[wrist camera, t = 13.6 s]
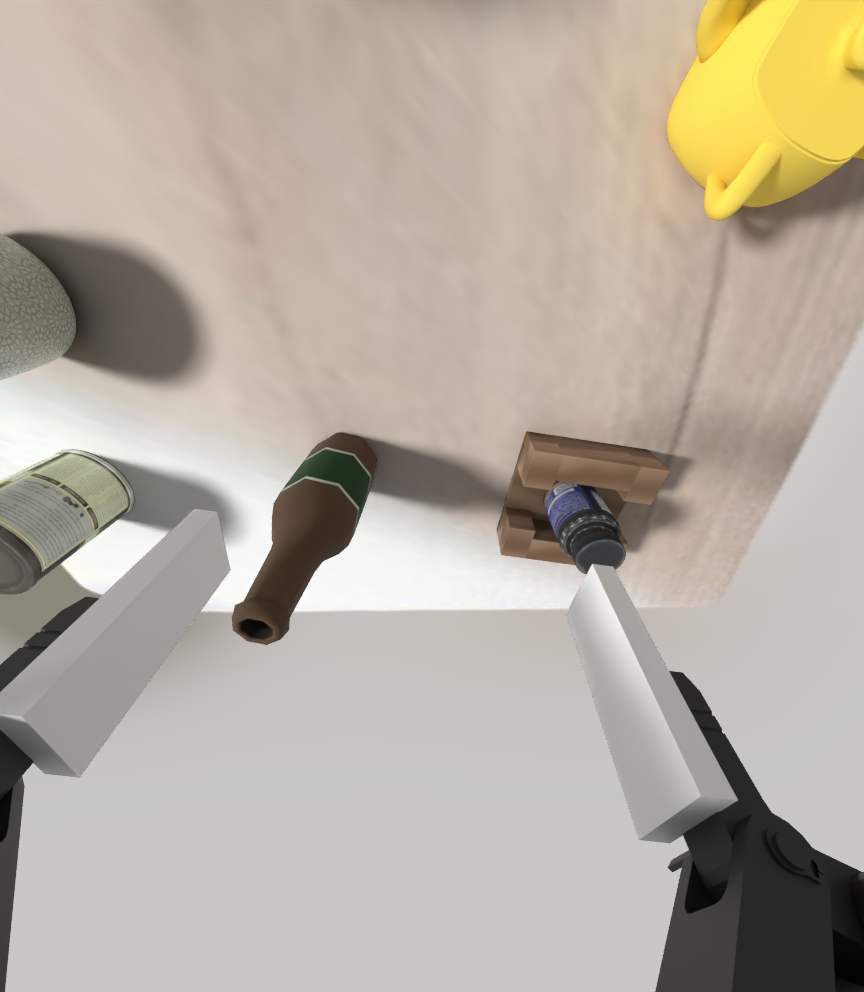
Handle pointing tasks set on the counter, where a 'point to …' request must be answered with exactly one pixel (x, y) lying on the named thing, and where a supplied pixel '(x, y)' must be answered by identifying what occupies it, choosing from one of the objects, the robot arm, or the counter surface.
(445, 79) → the counter surface
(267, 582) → the beer bottle
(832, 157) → the teapot
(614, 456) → the socket
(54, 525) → the coffee can
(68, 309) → the planter
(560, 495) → the pill bottle
